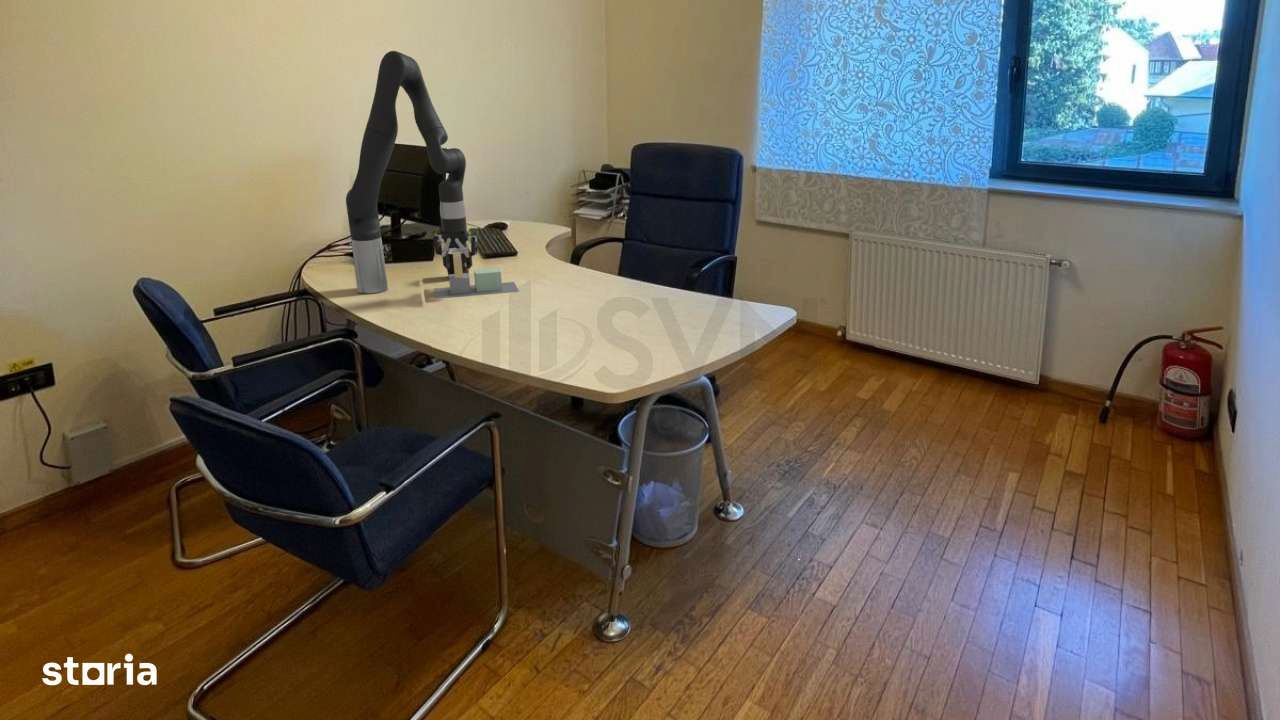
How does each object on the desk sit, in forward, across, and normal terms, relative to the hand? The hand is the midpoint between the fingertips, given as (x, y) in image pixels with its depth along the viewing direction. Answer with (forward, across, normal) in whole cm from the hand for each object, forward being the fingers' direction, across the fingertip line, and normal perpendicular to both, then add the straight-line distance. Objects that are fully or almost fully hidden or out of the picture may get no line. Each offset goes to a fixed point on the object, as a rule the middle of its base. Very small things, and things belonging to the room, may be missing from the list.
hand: (458, 267), depth 253 cm
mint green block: (+8, -8, -4) cm, 12 cm away
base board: (+9, -4, -2) cm, 10 cm away
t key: (+2, 0, 0) cm, 2 cm away
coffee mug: (+9, +6, -18) cm, 21 cm away
